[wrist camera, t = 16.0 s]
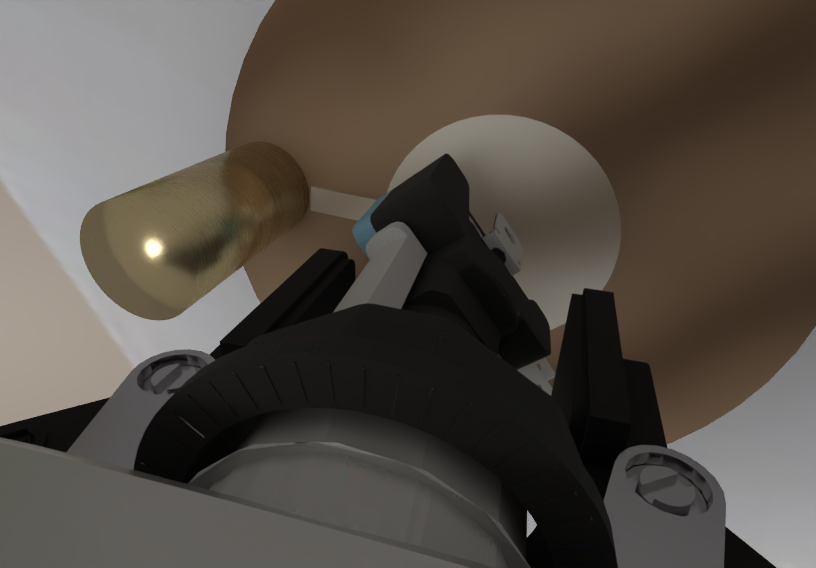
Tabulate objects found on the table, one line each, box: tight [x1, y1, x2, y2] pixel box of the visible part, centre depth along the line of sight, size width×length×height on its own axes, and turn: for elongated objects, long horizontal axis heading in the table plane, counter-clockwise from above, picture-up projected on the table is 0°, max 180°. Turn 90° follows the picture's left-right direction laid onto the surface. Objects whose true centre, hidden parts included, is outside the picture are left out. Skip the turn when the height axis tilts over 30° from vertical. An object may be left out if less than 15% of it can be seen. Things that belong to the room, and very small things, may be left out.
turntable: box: [80, 0, 816, 444], centre depth 14 cm, size 18×18×8 cm
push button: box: [134, 154, 618, 568], centre depth 10 cm, size 7×5×10 cm
